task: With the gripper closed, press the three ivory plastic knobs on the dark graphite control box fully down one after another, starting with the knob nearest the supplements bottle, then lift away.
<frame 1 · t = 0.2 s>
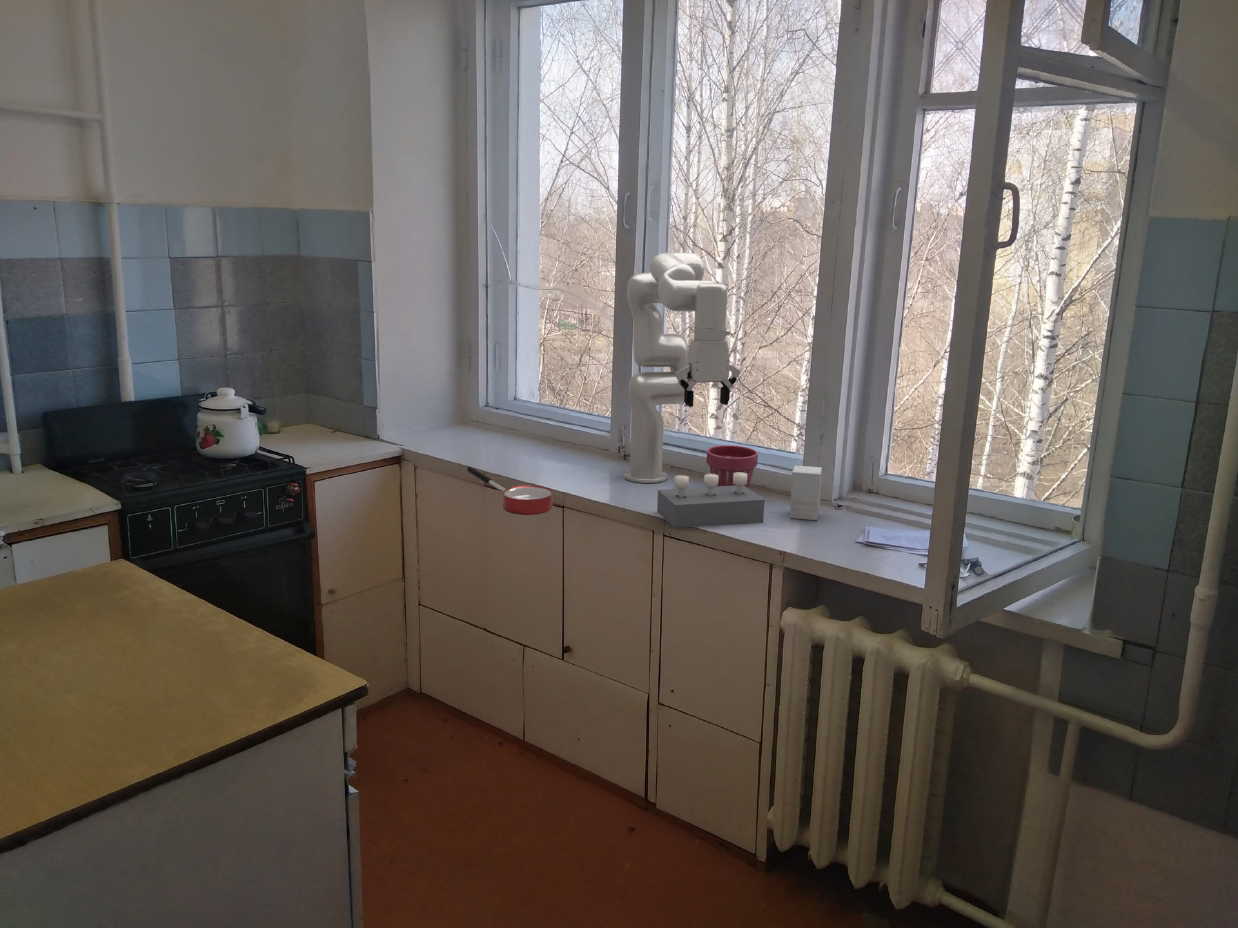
hand: (706, 405, 234), 31 cm above the counter, tool pointing down, fingers open, 9 cm apart
knob 3: (681, 490, 243), point 8 cm above the counter, slide at 0.0 cm
knob 2: (710, 488, 246), point 8 cm above the counter, slide at 0.0 cm
knob 1: (739, 487, 248), point 8 cm above the counter, slide at 0.0 cm
control box: (709, 516, 247), on the counter
supplement box: (804, 516, 250), on the counter
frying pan: (502, 501, 258), on the counter
plant pot: (730, 495, 268), on the counter
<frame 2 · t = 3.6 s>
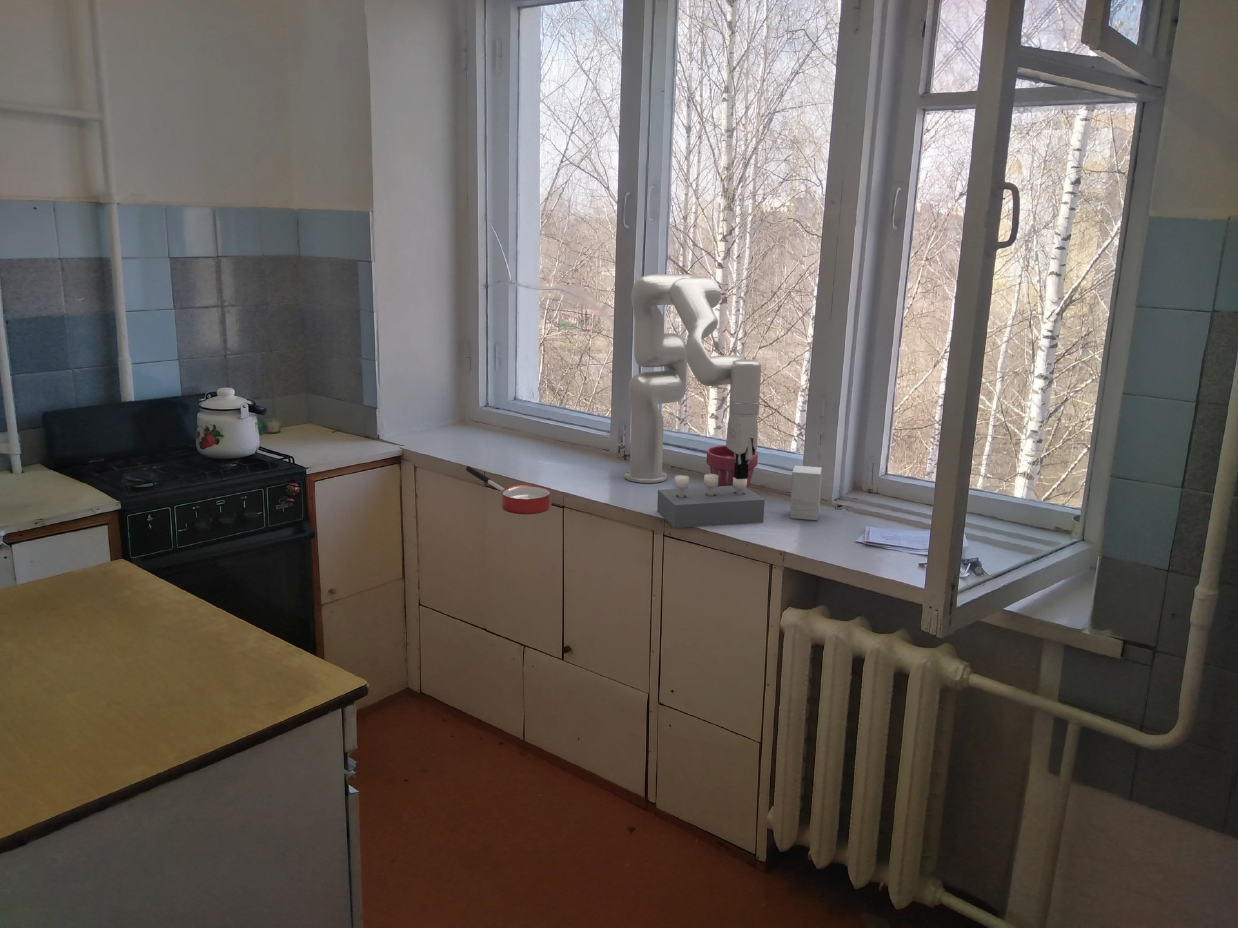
hand: (740, 478, 247), 10 cm above the counter, tool pointing down, fingers closed
knob 1: (739, 491, 248), point 6 cm above the counter, slide at 1.1 cm, touching gripper
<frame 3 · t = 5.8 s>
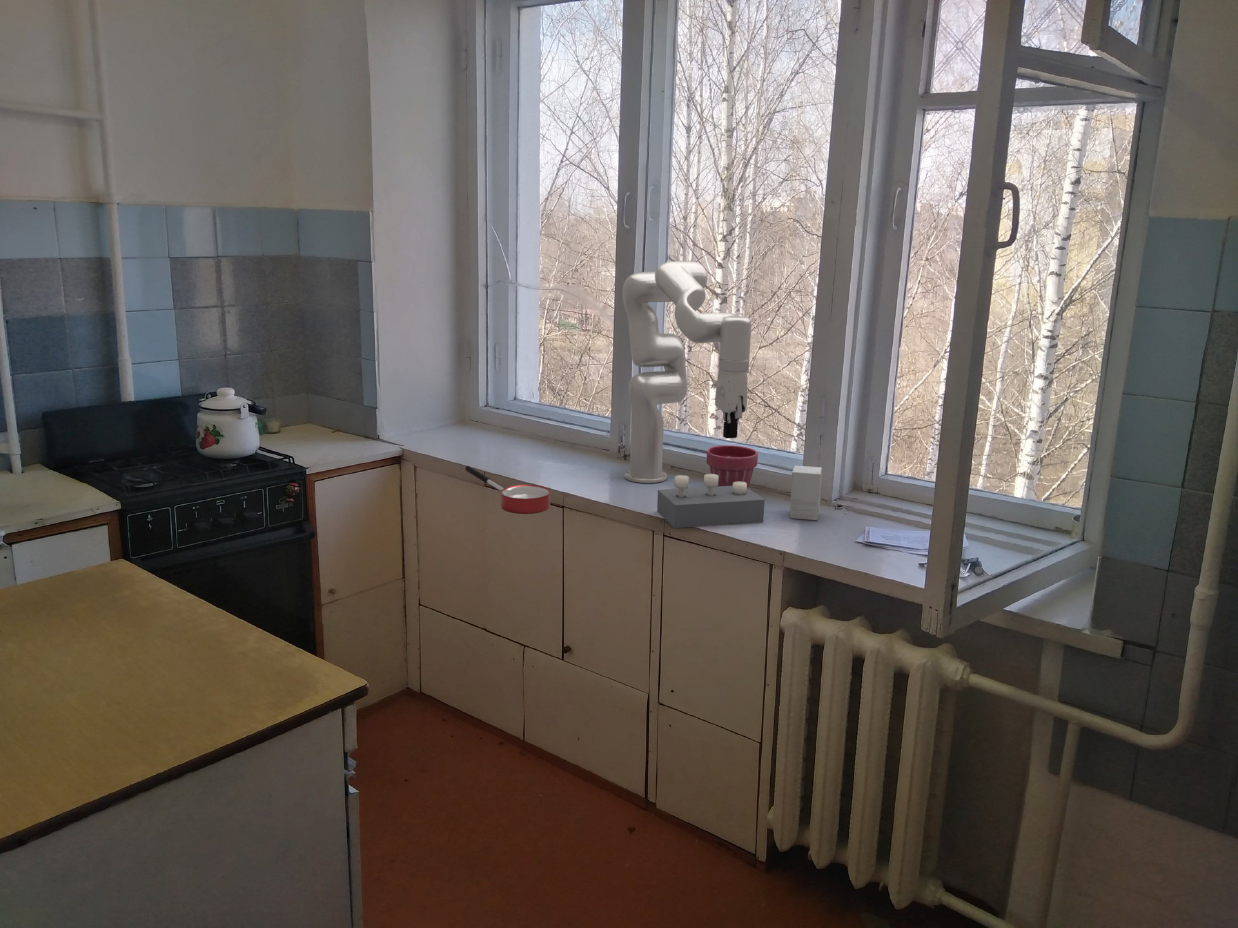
hand: (730, 437, 244), 21 cm above the counter, tool pointing down, fingers closed
knob 1: (739, 496, 248), point 5 cm above the counter, slide at 2.5 cm
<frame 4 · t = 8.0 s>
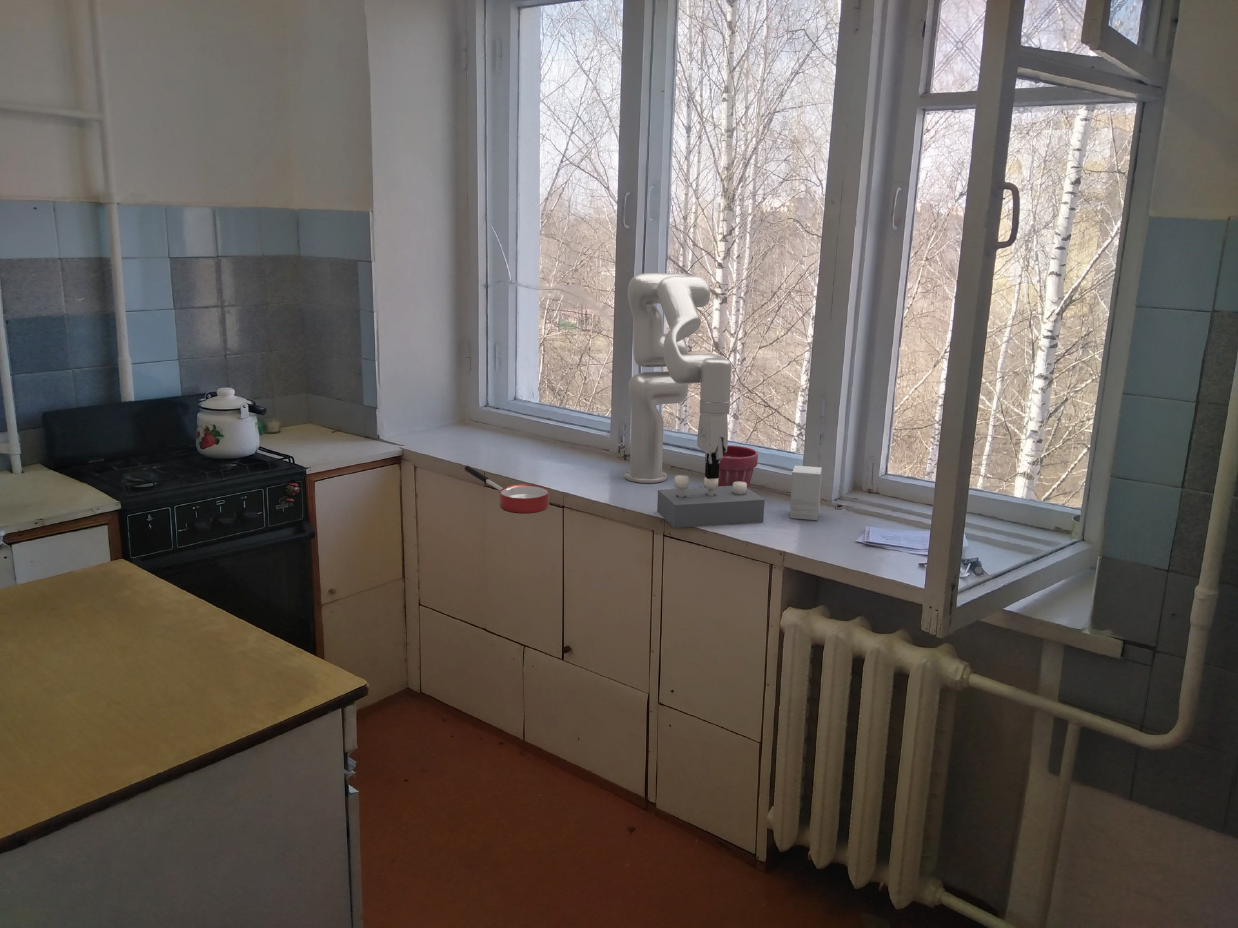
hand: (711, 477, 245), 11 cm above the counter, tool pointing down, fingers closed
knob 2: (710, 490, 246), point 7 cm above the counter, slide at 0.6 cm, touching gripper
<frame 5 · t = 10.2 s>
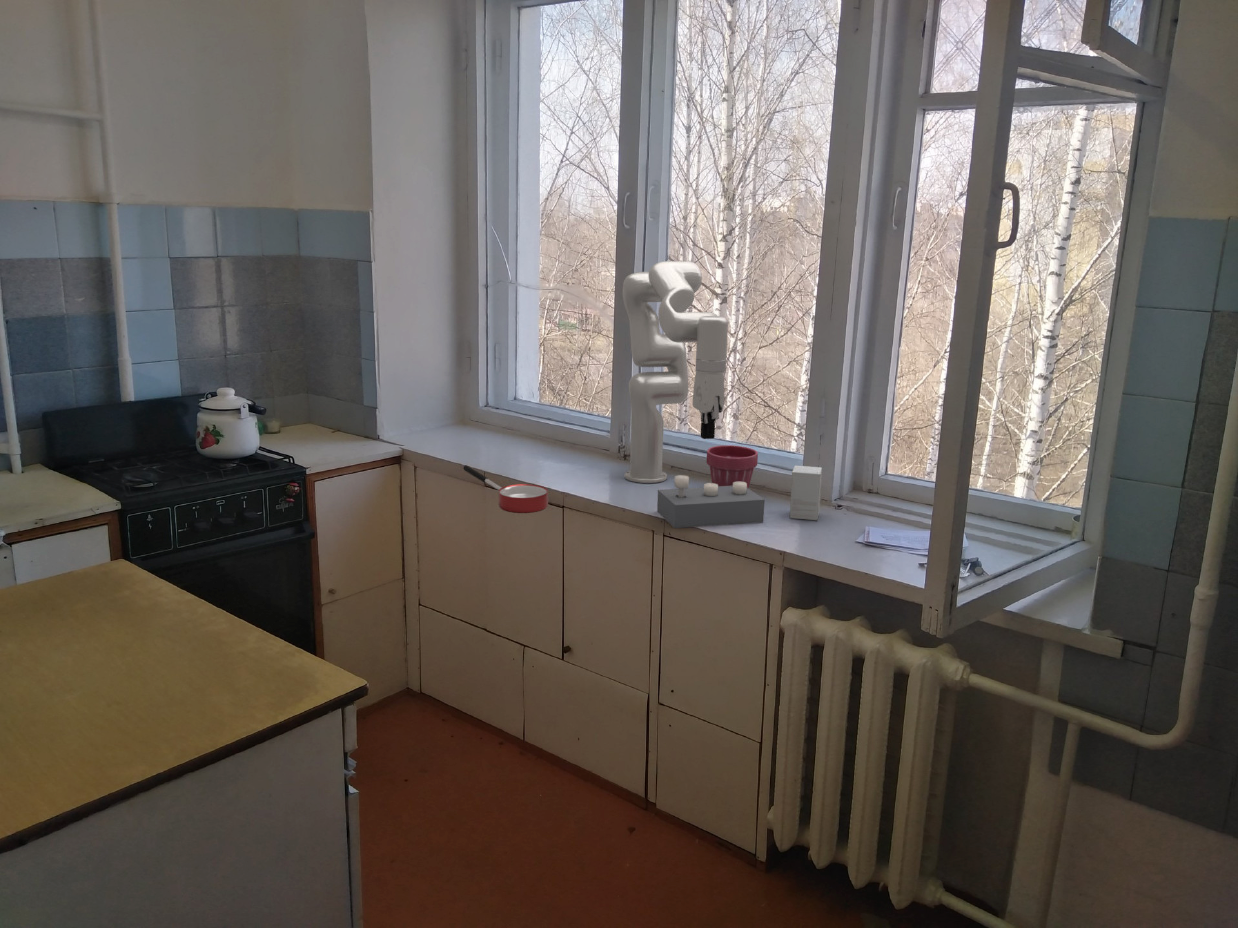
hand: (707, 437, 242), 21 cm above the counter, tool pointing down, fingers closed
knob 2: (710, 498, 246), point 5 cm above the counter, slide at 2.5 cm
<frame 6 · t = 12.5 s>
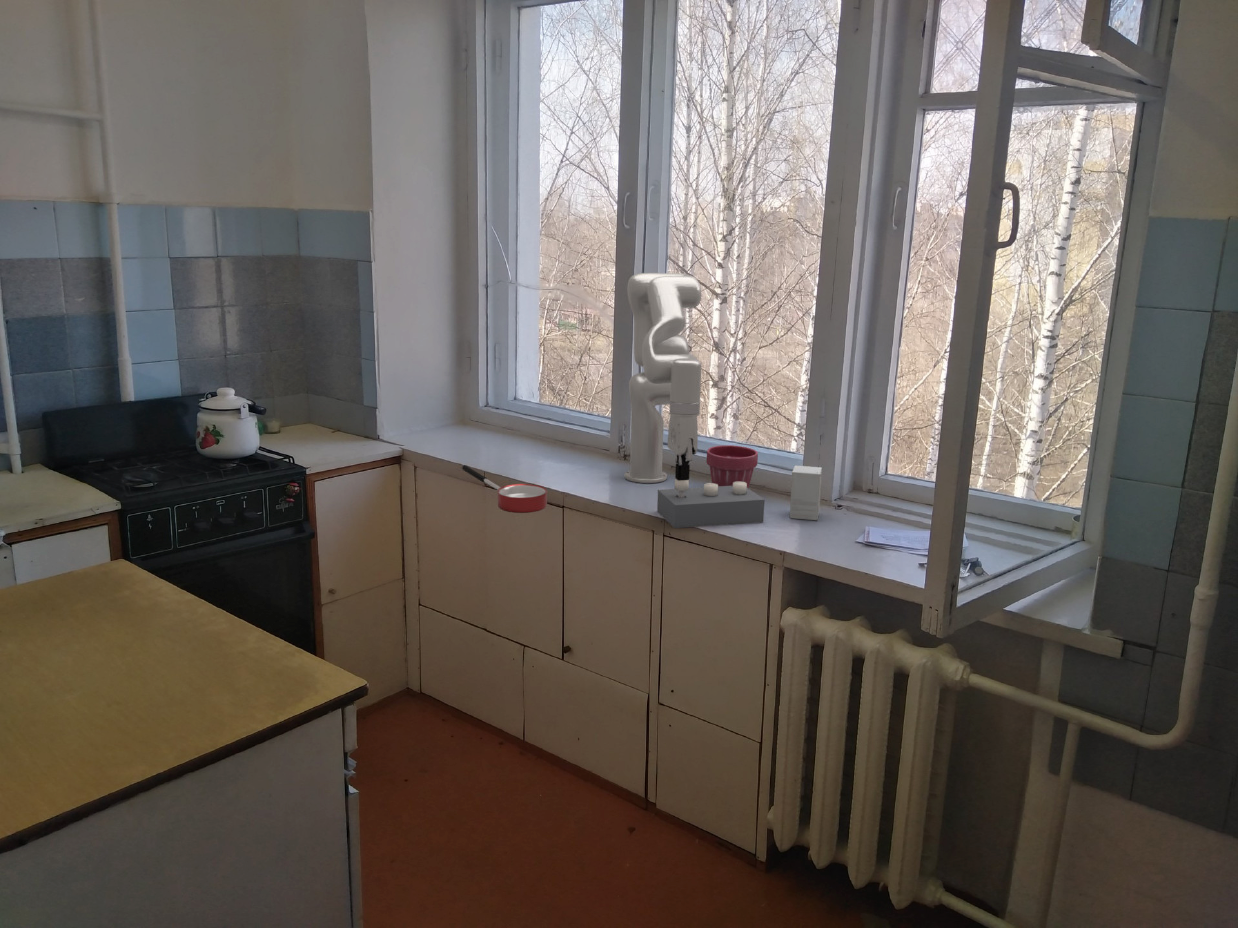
hand: (682, 479, 242), 11 cm above the counter, tool pointing down, fingers closed
knob 3: (681, 492, 244), point 7 cm above the counter, slide at 0.6 cm, touching gripper
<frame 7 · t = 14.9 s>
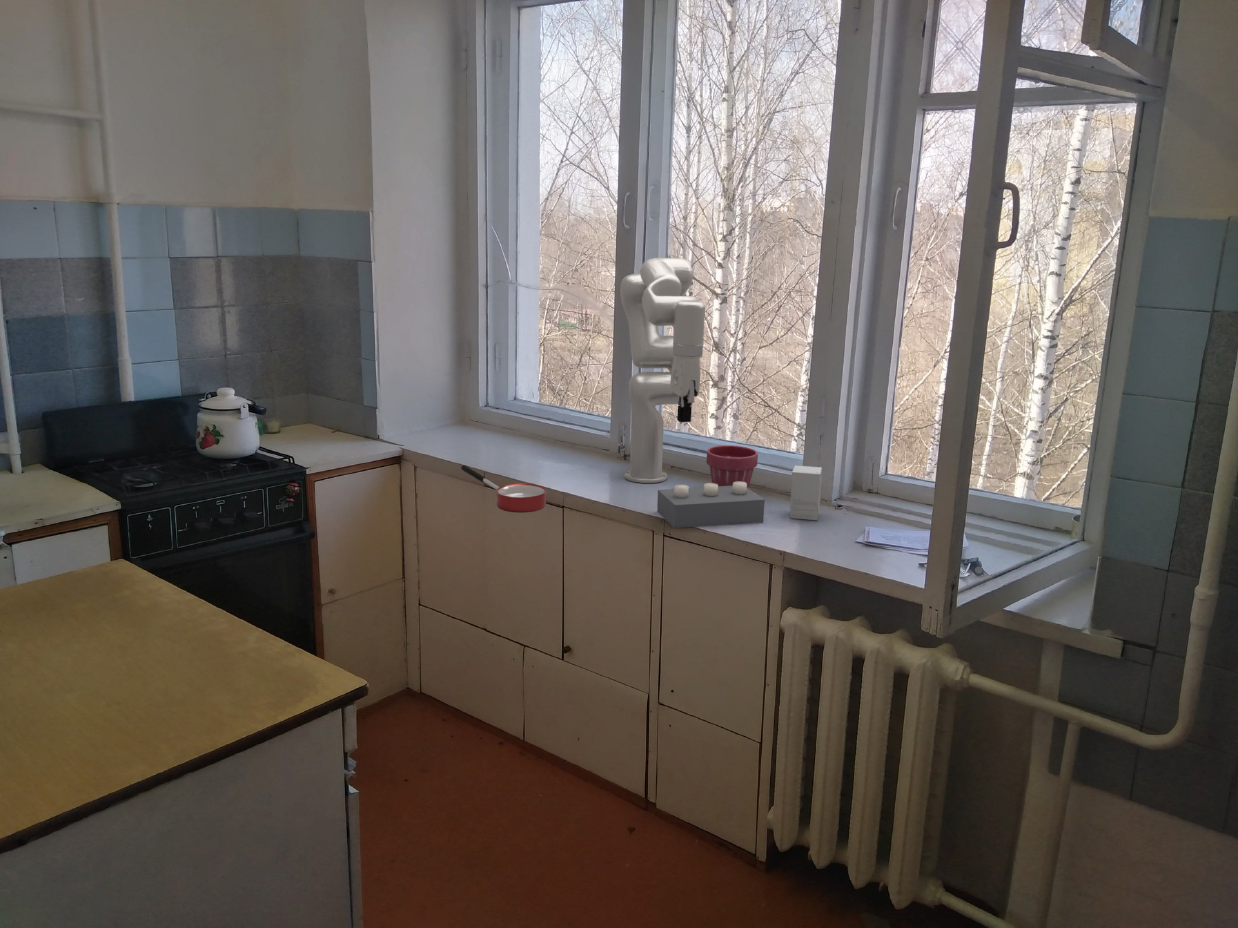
hand: (683, 421, 244), 25 cm above the counter, tool pointing down, fingers closed
knob 3: (681, 499, 244), point 5 cm above the counter, slide at 2.5 cm
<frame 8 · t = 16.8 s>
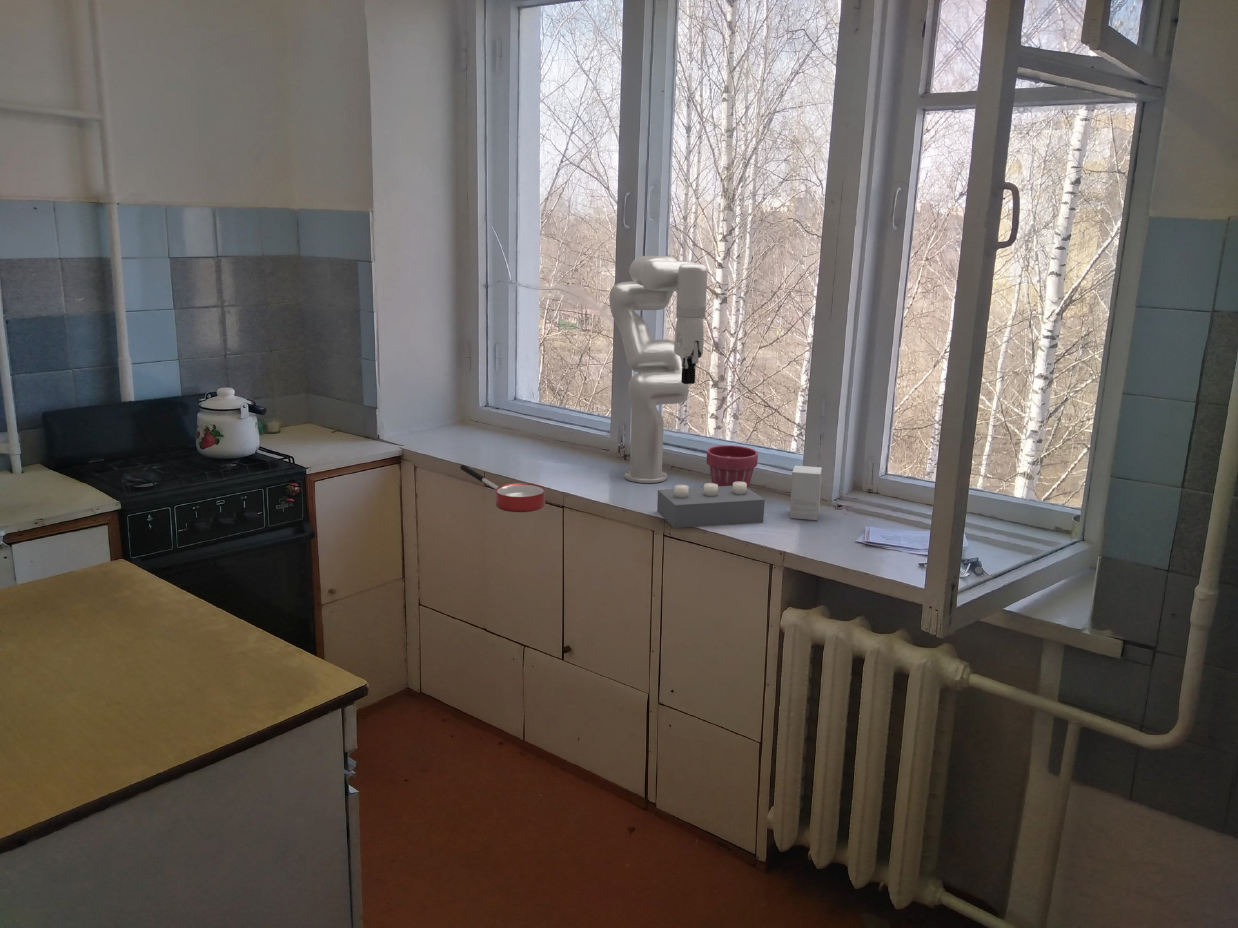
hand: (688, 383, 250), 33 cm above the counter, tool pointing down, fingers closed
at the end: knob 1 slide at 2.5 cm; knob 2 slide at 2.5 cm; knob 3 slide at 2.5 cm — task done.
